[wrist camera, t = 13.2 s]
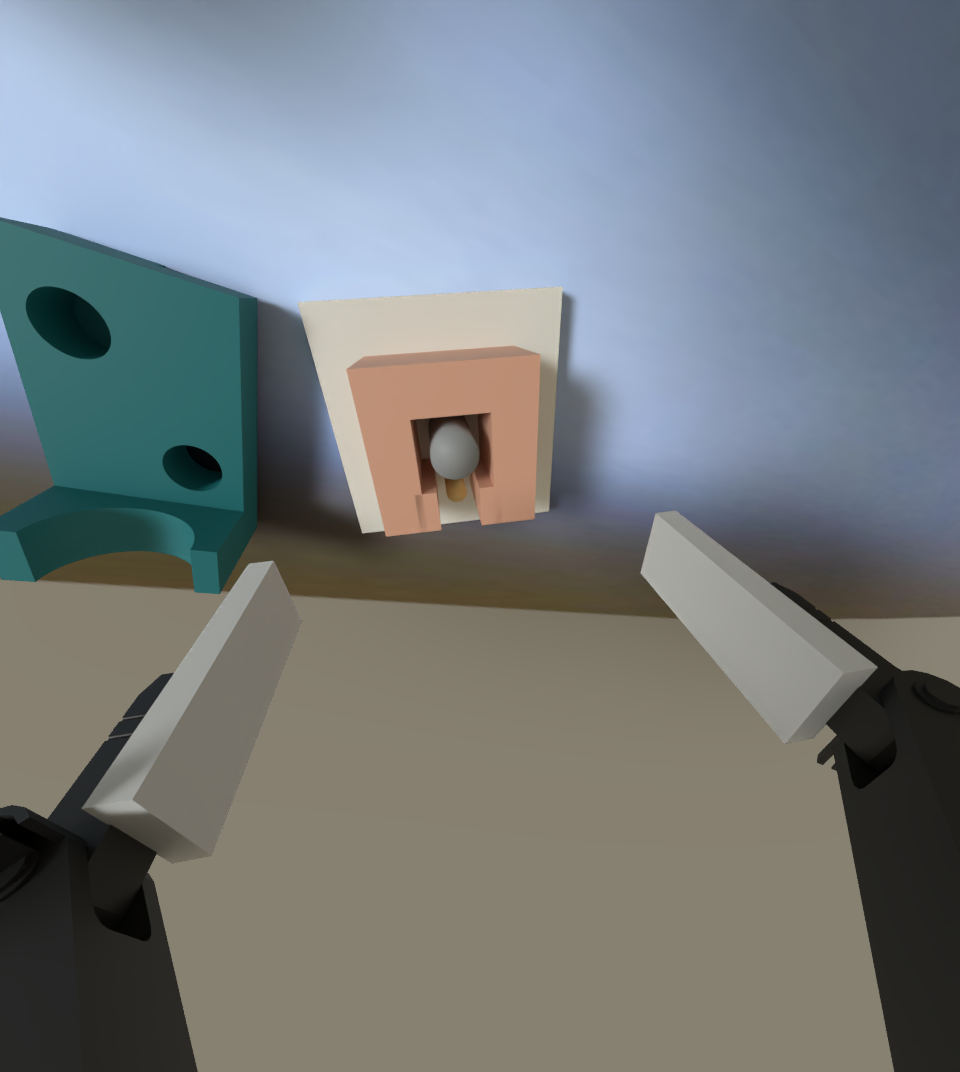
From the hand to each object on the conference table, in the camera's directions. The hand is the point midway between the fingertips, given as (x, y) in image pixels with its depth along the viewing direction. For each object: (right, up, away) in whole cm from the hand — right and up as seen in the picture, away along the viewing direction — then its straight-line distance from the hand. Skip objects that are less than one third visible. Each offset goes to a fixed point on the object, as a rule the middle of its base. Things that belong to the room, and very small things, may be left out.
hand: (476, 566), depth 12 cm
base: (-3, +11, +17) cm, 21 cm away
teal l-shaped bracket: (-23, +11, +14) cm, 29 cm away
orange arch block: (-3, +10, +16) cm, 19 cm away
